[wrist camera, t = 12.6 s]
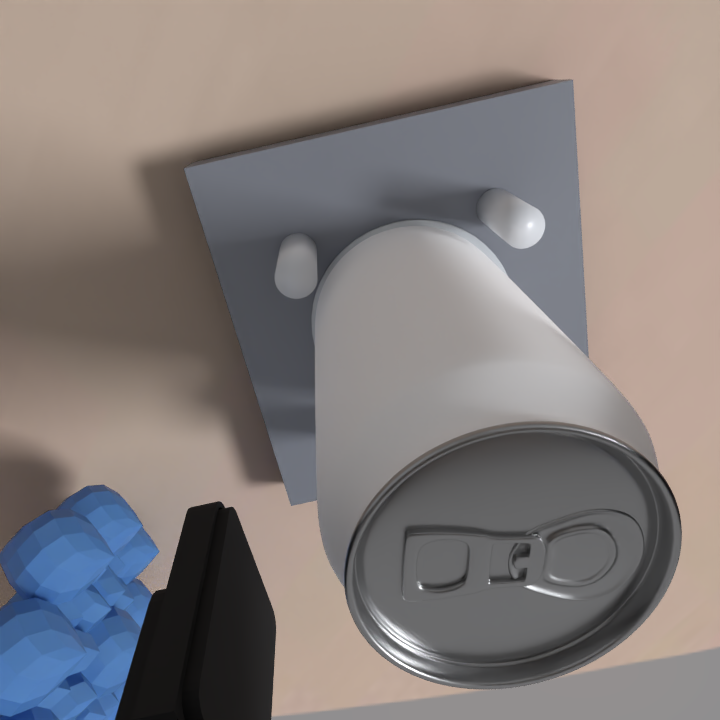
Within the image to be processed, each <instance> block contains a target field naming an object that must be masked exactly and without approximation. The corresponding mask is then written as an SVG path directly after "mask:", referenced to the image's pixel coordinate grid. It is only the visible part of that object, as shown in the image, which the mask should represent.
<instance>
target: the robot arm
mask: <svg viewBox="0 0 720 720" xmlns="http://www.w3.org/2000/svg"><path fill="white" fill-rule="evenodd" d="M275 639H276V622H275V615H274V611H273V608H272V605H271V603H270V600H269V597H268V595H267V592H266V589H265V587H264V584H263V582H262V579H261V576H260V574H259V571H258V568H257V566H256V563H255V560H254V558H253V555H252V552H251V550H250V547H249V545H248V542H247V539H246V537H245V534H244V531H243V529H242V526H241V523H240V521H239V518H238V515H237V513H236V511H235V509H234V508H233V507H229V508H225V507H224V505H223V504H222V502H219V501H218V502H214V503H209V504H205V505H200V506H195V507H191V508H189V509H188V511H187V513H186V517H185V521H184V525H183V528H182V532H181V536H180V540H179V543H178V547H177V551H176V555H175V558H174V562H173V566H172V570H171V573H170V577H169V581H168V584H167V588H166V589H163V590H158V591H156V592H155V593H154V594H153V595H152V597H151V599H150V602H149V604H148V608H147V611H146V615H145V618H144V621H143V625H142V628H141V632H140V635H139V639H138V642H137V645H136V649H135V652H134V656H133V659H132V662H131V666H130V669H129V673H128V676H127V679H126V683H125V686H124V690H123V693H122V697H121V700H120V703H119V707H118V710H117V714H116V717H115V720H271V712H272V694H273V676H274V657H275Z"/></svg>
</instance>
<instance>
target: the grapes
mask: <svg viewBox="0 0 720 720" xmlns="http://www.w3.org/2000/svg"><path fill="white" fill-rule="evenodd" d="M142 526H143V525H142V523H141V522H140V520H139V519H138V517H137V515H136V514H135V512H134V511H133V510H132V508H131V507H130V506H129V505H128V504H127V502H126V501H125V500H124V499H123V498H122V497H121V496H120V495H119V494H118V493H117V492H115V491H114V490H112V489H110V488H108V487H107V486H105V485H94V486H86V487H85V488H83V489H81V490H80V491H78V492H76V493H75V494H73V495H72V496H70V497H68V498H67V499H65V500H64V501H63V502H62V504H61V505H60V506H59V507H58V508H57V509H56V510H50V511H47V512H46V513H44V514H42V515H41V516H39V517H37V518H36V519H34V520H33V521H31V522H29V523H28V524H26V525H25V526H23V527H22V528H21V529H20V530H19V531H18V532H17V533H16V535H15V536H14V537H13V538H12V539H11V540H10V541H9V542H8V543H7V544H6V546H5V547H4V548H3V550H2V551H1V552H0V564H1V566H2V568H3V571H4V573H5V575H6V577H7V579H8V581H9V584H10V585H11V586H12V587H13V588H14V589H15V590H16V592H17V593H16V594H15V595H14V596H13V597H12V598H11V599H10V600H9V601H8V603H7V604H5V605H4V606H3V607H1V608H0V720H115V717H116V714H117V710H118V707H119V703H120V700H121V697H122V693H123V690H124V686H125V683H126V679H127V676H128V673H129V669H130V666H131V662H132V659H133V656H134V652H135V649H136V645H137V642H138V639H139V635H140V632H141V628H142V625H143V621H144V618H145V615H146V611H147V608H148V604H149V602H150V599H151V597H152V594H151V593H150V591H149V590H148V589H147V588H146V587H145V585H144V584H143V583H142V582H141V581H140V580H138V579H136V577H137V576H138V575H139V574H140V573H141V572H142V571H143V570H144V569H145V568H146V567H147V566H148V564H149V563H150V562H151V561H152V560H153V559H154V557H155V556H156V555H157V554H158V553H159V550H158V548H157V547H156V545H155V543H154V542H153V540H152V539H151V537H150V536H149V535H148V534H147V533H146V531H145V530H144V529H143V528H142Z"/></svg>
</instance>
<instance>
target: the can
mask: <svg viewBox="0 0 720 720" xmlns="http://www.w3.org/2000/svg"><path fill="white" fill-rule="evenodd" d="M315 426H316V478H317V503H318V519H319V526H320V532H321V537H322V542H323V546H324V549H325V552H326V555H327V558H328V560H329V562H330V564H331V566H332V568H333V570H334V572H335V574H336V576H337V577H338V579H339V580H340V582H341V583H342V585H343V586H344V588H345V595H346V600H347V604H348V607H349V610H350V613H351V615H352V618H353V620H354V622H355V624H356V626H357V627H358V629H359V631H360V632H361V634H362V635H363V636H364V638H365V639H366V640H367V642H368V643H369V644H370V645H371V646H372V647H373V648H374V649H375V650H376V651H377V652H378V653H379V654H380V655H381V656H383V657H384V658H385V659H386V660H388V661H389V662H391V663H392V664H394V665H395V666H397V667H398V668H400V669H402V670H404V671H406V672H408V673H410V674H412V675H414V676H417V677H419V678H422V679H424V680H427V681H431V682H434V683H438V684H442V685H446V686H452V687H458V688H467V689H503V688H512V687H520V686H525V685H530V684H535V683H539V682H543V681H546V680H550V679H553V678H556V677H559V676H562V675H565V674H567V673H570V672H572V671H574V670H577V669H579V668H581V667H583V666H585V665H587V664H589V663H591V662H593V661H595V660H596V659H598V658H600V657H601V656H603V655H605V654H606V653H608V652H609V651H611V650H612V649H614V648H615V647H616V646H618V645H619V644H620V643H622V642H623V641H624V640H625V639H627V638H628V637H629V636H630V635H631V634H632V633H633V632H634V631H636V630H637V629H638V628H639V627H640V626H641V625H642V624H643V622H644V621H645V620H646V619H647V618H648V617H649V616H650V614H651V613H652V612H653V611H654V609H655V608H656V607H657V605H658V604H659V602H660V601H661V599H662V598H663V596H664V594H665V592H666V591H667V589H668V587H669V585H670V583H671V580H672V578H673V576H674V573H675V570H676V567H677V564H678V560H679V556H680V550H681V540H682V529H681V519H680V514H679V509H678V506H677V503H676V500H675V497H674V495H673V493H672V491H671V489H670V487H669V485H668V483H667V481H666V480H665V479H664V477H663V476H662V474H661V473H660V472H659V469H658V463H657V458H656V454H655V450H654V447H653V444H652V441H651V438H650V436H649V433H648V431H647V429H646V427H645V425H644V423H643V422H642V420H641V419H640V417H639V416H638V414H637V413H636V411H635V410H634V408H633V407H632V406H631V404H630V403H629V402H628V400H627V399H626V398H625V397H624V396H623V395H622V393H621V392H620V391H619V390H618V389H617V388H616V387H615V386H614V384H613V383H612V382H611V381H610V380H609V379H608V378H607V377H606V376H605V375H604V374H603V373H602V372H601V371H600V370H599V369H598V368H597V367H596V366H595V364H594V363H593V362H592V361H591V360H590V359H589V358H588V357H587V356H586V355H585V354H584V353H583V352H582V351H581V350H580V349H579V348H578V347H577V346H576V345H575V344H574V343H573V342H572V341H571V340H570V339H569V338H568V337H567V336H566V335H565V334H564V333H563V332H562V331H561V330H560V329H559V328H558V327H557V326H556V325H555V324H554V323H553V322H552V321H551V319H550V318H549V317H548V316H547V315H546V314H545V313H544V312H543V311H542V310H541V309H540V308H539V307H538V306H537V305H536V304H535V303H534V302H533V301H532V300H531V299H530V298H529V297H528V296H527V295H526V294H525V293H524V292H523V291H522V290H521V289H520V288H519V287H518V286H517V285H516V284H515V283H514V282H513V281H512V280H511V279H510V278H509V277H508V276H507V275H506V274H505V273H504V272H503V271H502V270H501V269H500V268H499V267H498V266H497V265H496V264H495V263H494V262H493V261H491V260H490V259H489V258H488V257H487V256H486V255H485V254H484V253H483V252H482V251H481V250H480V249H478V248H477V247H476V246H475V245H473V244H472V243H470V242H469V241H467V240H466V239H464V238H462V237H460V236H459V235H456V234H454V233H452V232H449V231H446V230H443V229H439V228H434V227H427V226H406V227H399V228H394V229H390V230H386V231H383V232H380V233H378V234H375V235H373V236H371V237H369V238H367V239H365V240H364V241H362V242H361V243H359V244H358V245H356V246H355V247H353V248H352V249H351V250H350V251H349V252H347V253H346V254H345V255H344V256H343V257H342V258H341V259H340V260H339V262H338V263H337V264H336V265H335V267H334V268H333V269H332V271H331V272H330V274H329V275H328V277H327V279H326V281H325V283H324V285H323V287H322V290H321V293H320V296H319V299H318V303H317V308H316V316H315Z"/></svg>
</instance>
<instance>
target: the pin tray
mask: <svg viewBox="0 0 720 720" xmlns="http://www.w3.org/2000/svg"><path fill="white" fill-rule="evenodd" d="M184 171H185V174H186V177H187V180H188V183H189V187H190V190H191V193H192V196H193V199H194V202H195V205H196V209H197V212H198V215H199V218H200V221H201V224H202V227H203V231H204V234H205V237H206V240H207V243H208V246H209V249H210V253H211V256H212V259H213V262H214V265H215V268H216V271H217V275H218V278H219V281H220V284H221V287H222V290H223V293H224V297H225V300H226V303H227V306H228V309H229V312H230V315H231V319H232V322H233V325H234V328H235V331H236V334H237V337H238V341H239V344H240V347H241V350H242V353H243V356H244V359H245V362H246V366H247V369H248V372H249V375H250V378H251V381H252V384H253V388H254V391H255V394H256V397H257V400H258V403H259V406H260V410H261V413H262V416H263V419H264V422H265V425H266V428H267V432H268V435H269V438H270V441H271V444H272V447H273V450H274V454H275V457H276V460H277V463H278V466H279V469H280V472H281V476H282V479H283V482H284V485H285V488H286V491H287V494H288V498H289V501H290V504H291V506H292V505H297V504H302V503H306V502H311V501H316V500H317V478H316V426H315V316H316V308H317V303H318V299H319V296H320V293H321V290H322V287H323V285H324V283H325V281H326V279H327V277H328V275H329V274H330V272H331V271H332V269H333V268H334V267H335V265H336V264H337V263H338V262H339V260H340V259H341V258H342V257H343V256H344V255H345V254H346V253H347V252H349V251H350V250H351V249H352V248H353V247H355V246H356V245H358V244H359V243H361V242H362V241H364V240H365V239H367V238H369V237H371V236H373V235H375V234H378V233H380V232H383V231H386V230H390V229H394V228H399V227H406V226H427V227H434V228H439V229H443V230H446V231H449V232H452V233H454V234H456V235H459V236H460V237H462V238H464V239H466V240H467V241H469V242H470V243H472V244H473V245H475V246H476V247H477V248H478V249H480V250H481V251H482V252H483V253H484V254H485V255H486V256H487V257H488V258H489V259H490V260H491V261H493V262H494V263H495V264H496V265H497V266H498V267H499V268H500V269H501V270H502V271H503V272H504V273H505V274H506V275H507V276H508V277H509V278H510V279H511V280H512V281H513V282H514V283H515V284H516V285H517V286H518V287H519V288H520V289H521V290H522V291H523V292H524V293H525V294H526V295H527V296H528V297H529V298H530V299H531V300H532V301H533V302H534V303H535V304H536V305H537V306H538V307H539V308H540V309H541V310H542V311H543V312H544V313H545V314H546V315H547V316H548V317H549V318H550V319H551V321H552V322H553V323H554V324H555V325H556V326H557V327H558V328H559V329H560V330H561V331H562V332H563V333H564V334H565V335H566V336H567V337H568V338H569V339H570V340H571V341H572V342H573V343H574V344H575V345H576V346H577V347H578V348H579V349H580V350H581V351H582V352H583V353H584V354H585V355H586V356H587V357H588V339H587V321H586V303H585V286H584V268H583V250H582V232H581V215H580V197H579V179H578V161H577V143H576V126H575V108H574V90H573V80H552V81H547V82H543V83H538V84H534V85H530V86H525V87H521V88H517V89H512V90H508V91H503V92H499V93H495V94H490V95H486V96H482V97H477V98H473V99H468V100H464V101H460V102H455V103H451V104H447V105H442V106H438V107H433V108H429V109H425V110H420V111H416V112H412V113H407V114H403V115H398V116H394V117H390V118H385V119H381V120H377V121H372V122H368V123H363V124H359V125H355V126H350V127H346V128H342V129H337V130H333V131H328V132H324V133H320V134H315V135H311V136H307V137H302V138H298V139H293V140H289V141H285V142H280V143H276V144H272V145H267V146H263V147H258V148H254V149H250V150H245V151H241V152H236V153H232V154H228V155H223V156H219V157H215V158H210V159H206V160H201V161H197V162H193V163H191V164H190V165H188V166H187V167H185V168H184ZM588 358H589V357H588Z"/></svg>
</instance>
